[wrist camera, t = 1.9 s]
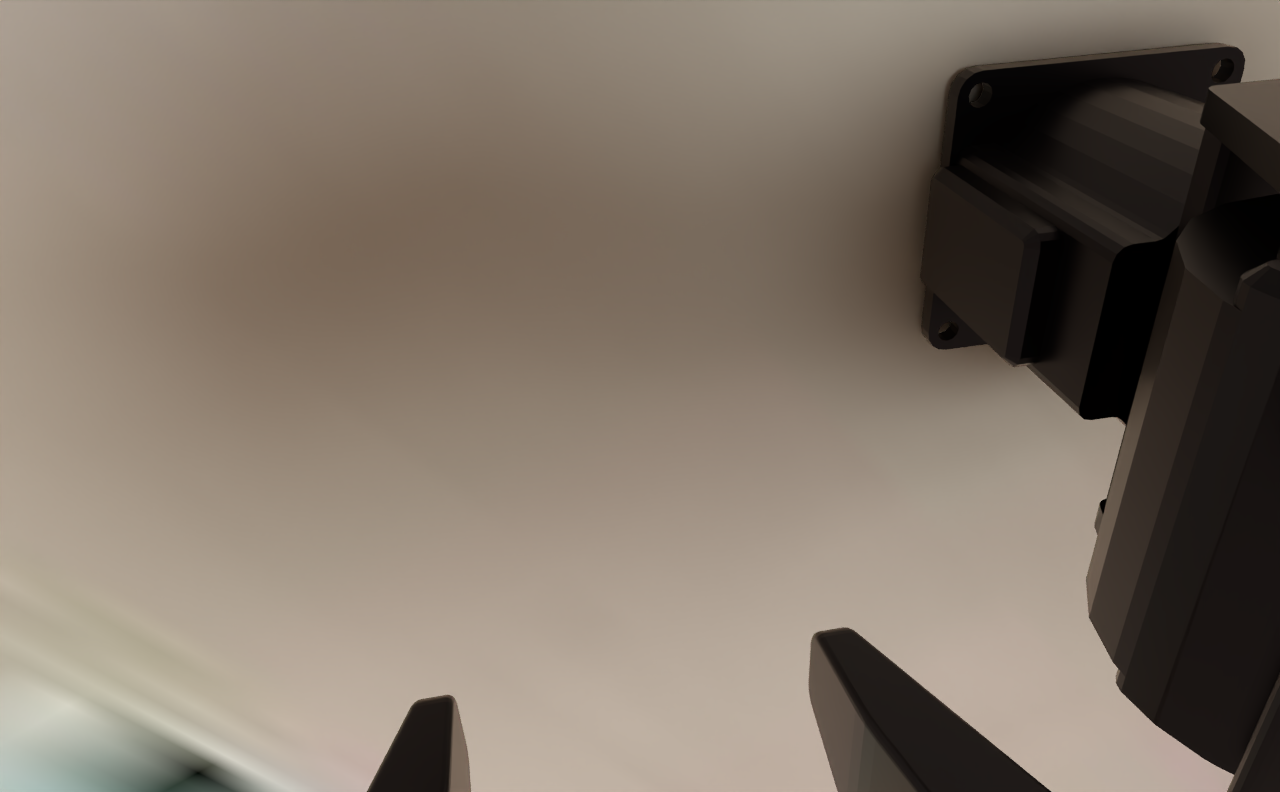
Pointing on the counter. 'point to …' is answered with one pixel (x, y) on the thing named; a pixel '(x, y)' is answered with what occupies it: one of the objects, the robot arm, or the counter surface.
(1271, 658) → the robot arm
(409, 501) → the counter surface
